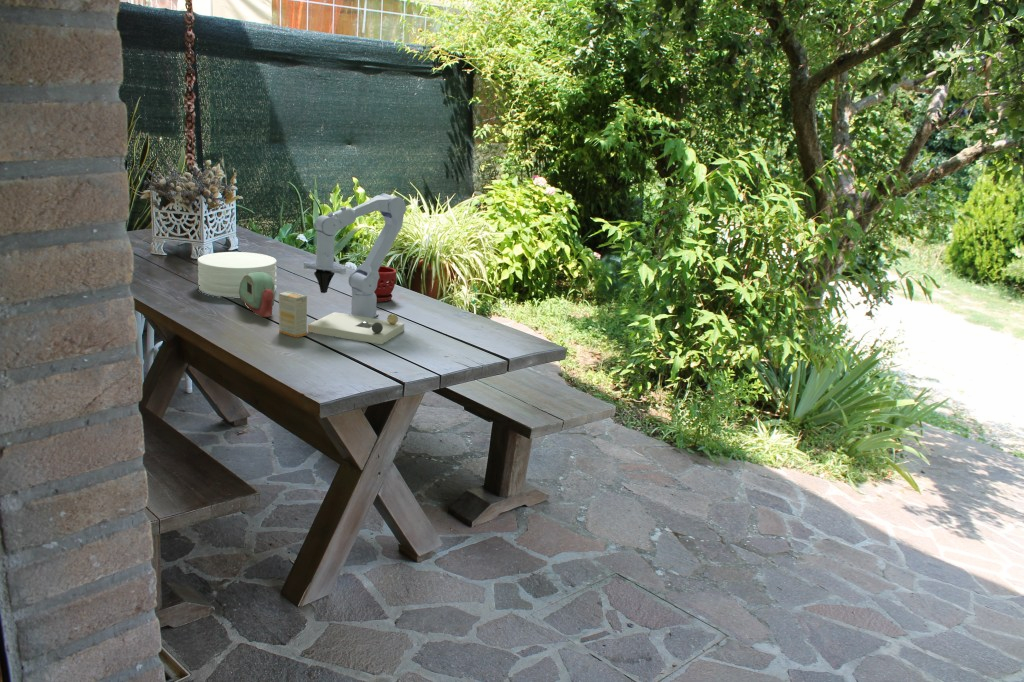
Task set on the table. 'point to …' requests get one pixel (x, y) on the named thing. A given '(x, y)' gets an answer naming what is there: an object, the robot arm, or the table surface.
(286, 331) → the supplement box
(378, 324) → the black rubber ball
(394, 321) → the brass ball
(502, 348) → the table surface
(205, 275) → the plate stack
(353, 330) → the hole plate
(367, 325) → the steel ball
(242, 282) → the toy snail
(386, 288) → the plant pot
